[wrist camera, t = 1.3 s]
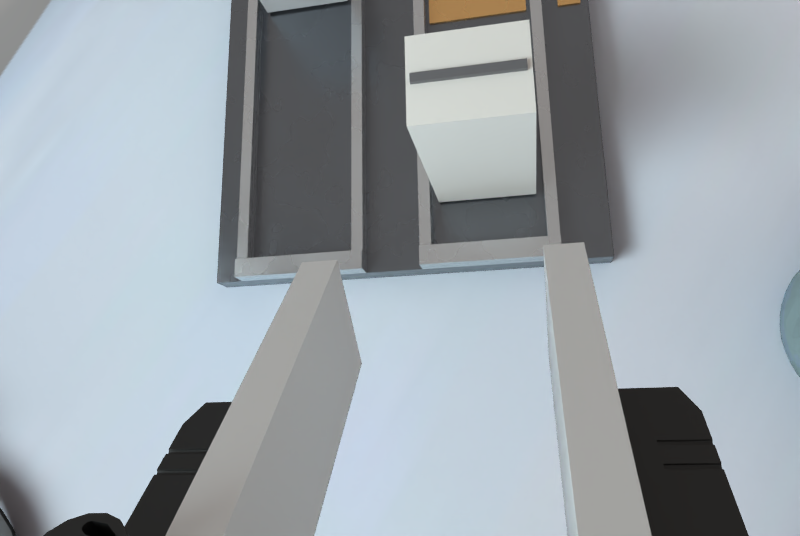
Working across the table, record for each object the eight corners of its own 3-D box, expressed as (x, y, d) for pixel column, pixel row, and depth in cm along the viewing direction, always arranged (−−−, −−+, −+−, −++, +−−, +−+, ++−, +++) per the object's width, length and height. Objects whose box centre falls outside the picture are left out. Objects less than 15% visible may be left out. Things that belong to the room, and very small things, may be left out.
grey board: (611, 262, 33) (616, 251, 31) (226, 287, 37) (208, 278, 35) (570, -140, 39) (572, -173, 37) (244, -81, 43) (229, -108, 41)
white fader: (536, 193, 33) (536, 109, 24) (439, 202, 34) (405, 124, 25) (530, 122, 34) (529, 16, 25) (436, 132, 35) (403, 33, 26)
